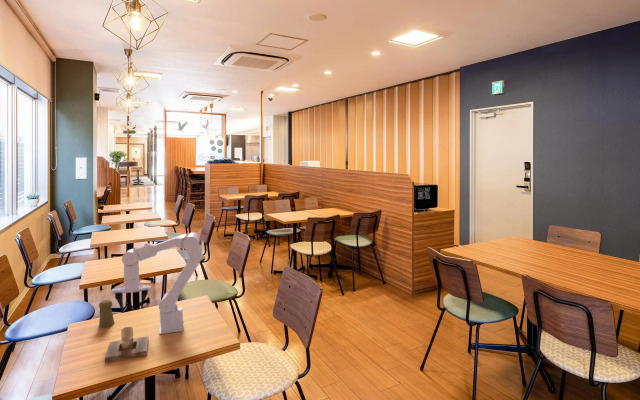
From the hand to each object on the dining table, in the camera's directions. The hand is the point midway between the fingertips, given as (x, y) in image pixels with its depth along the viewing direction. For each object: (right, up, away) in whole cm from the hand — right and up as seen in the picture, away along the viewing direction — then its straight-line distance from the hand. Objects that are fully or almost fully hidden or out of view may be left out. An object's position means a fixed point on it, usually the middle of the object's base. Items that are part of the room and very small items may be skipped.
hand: (132, 308), depth 158 cm
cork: (-15, -9, +7) cm, 19 cm away
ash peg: (+6, -12, -14) cm, 20 cm away
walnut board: (+6, -12, -14) cm, 20 cm away
